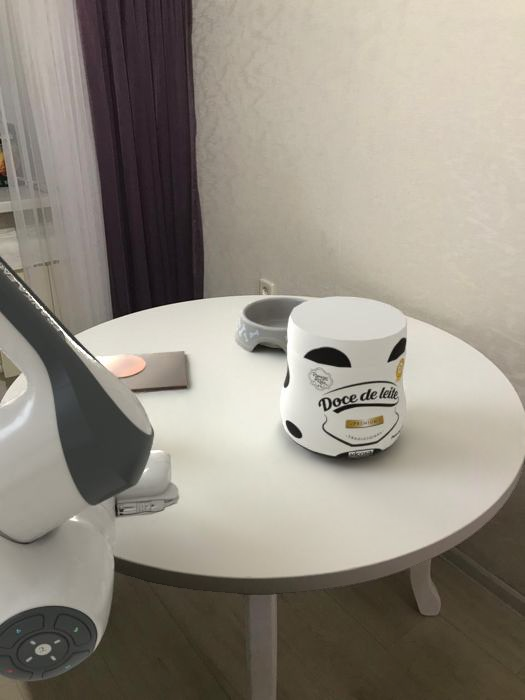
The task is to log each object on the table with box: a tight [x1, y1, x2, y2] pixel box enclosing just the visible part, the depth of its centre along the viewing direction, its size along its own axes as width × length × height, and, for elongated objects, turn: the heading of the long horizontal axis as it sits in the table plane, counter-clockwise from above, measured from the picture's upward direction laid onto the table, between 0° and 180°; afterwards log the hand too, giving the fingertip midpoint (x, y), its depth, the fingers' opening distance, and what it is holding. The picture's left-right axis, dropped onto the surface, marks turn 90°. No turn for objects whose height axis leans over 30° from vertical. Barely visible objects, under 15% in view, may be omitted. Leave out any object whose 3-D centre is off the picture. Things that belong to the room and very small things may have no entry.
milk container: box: [279, 295, 408, 460], centre depth 80 cm, size 17×17×18 cm
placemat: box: [94, 350, 188, 393], centre depth 100 cm, size 20×13×1 cm, turn 99°
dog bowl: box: [234, 296, 309, 356], centre depth 113 cm, size 17×18×5 cm
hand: (77, 451), depth 66 cm, fingers open, 8 cm apart
